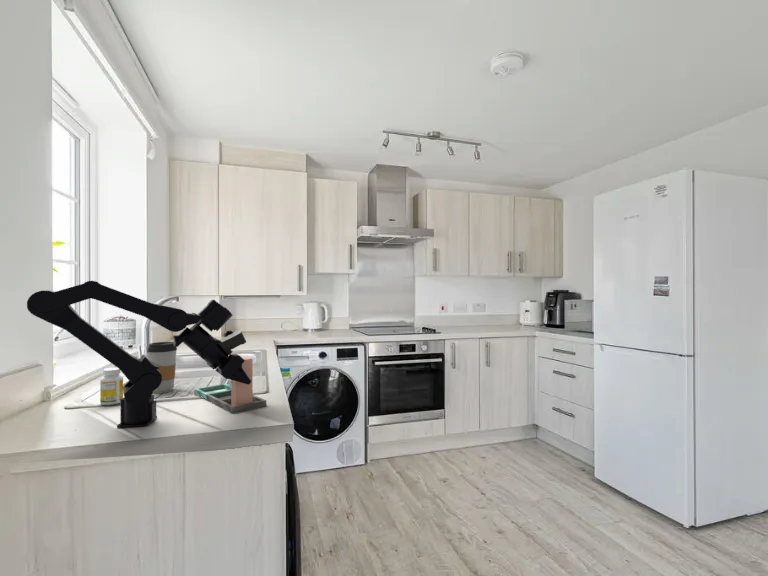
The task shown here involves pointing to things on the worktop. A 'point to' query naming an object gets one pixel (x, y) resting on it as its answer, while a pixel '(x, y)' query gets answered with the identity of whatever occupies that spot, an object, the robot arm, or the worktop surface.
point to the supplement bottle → (111, 387)
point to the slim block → (243, 386)
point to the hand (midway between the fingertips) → (247, 381)
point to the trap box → (227, 398)
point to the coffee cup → (164, 363)
